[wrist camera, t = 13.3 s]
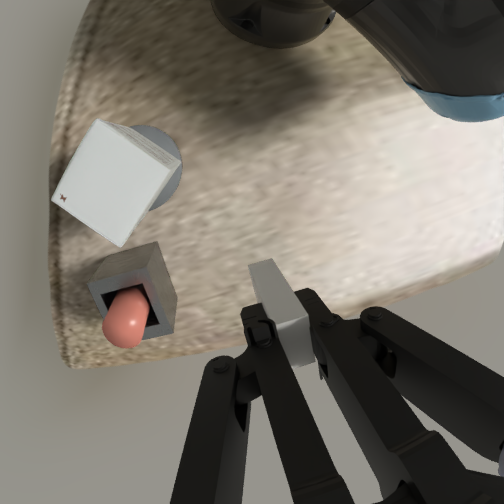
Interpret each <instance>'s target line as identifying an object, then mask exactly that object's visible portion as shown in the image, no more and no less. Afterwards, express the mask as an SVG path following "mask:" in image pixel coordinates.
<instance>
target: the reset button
mask: <svg viewBox="0 0 504 504" xmlns="http://www.w3.org/2000/svg"><path fill="white" fill-rule="evenodd" d="M150 305H151V302H150V300H149V297H148V295H147V293H146V290H145V288H144V285H143V284H142V283H141V284H137V285H134V286H130V287H126V288H122V289H119V290H118V292H117V294H116V296H115V298H114V300H113V302H112V304H111V306H110V308H109V310H108V313H107V315H106V317H105V319H104V321H103V324H102V330H103V333H104V335H105V337H106V338H107V340H108V341H109V342H111V343H112V344H113V345H115V346H118V347H121V348H132V347H135V346H137V345H138V344H139V343H140V342H141V340H142V337H143V333H144V329H145V325H146V321H147V317H148V313H149V309H150Z"/></svg>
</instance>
